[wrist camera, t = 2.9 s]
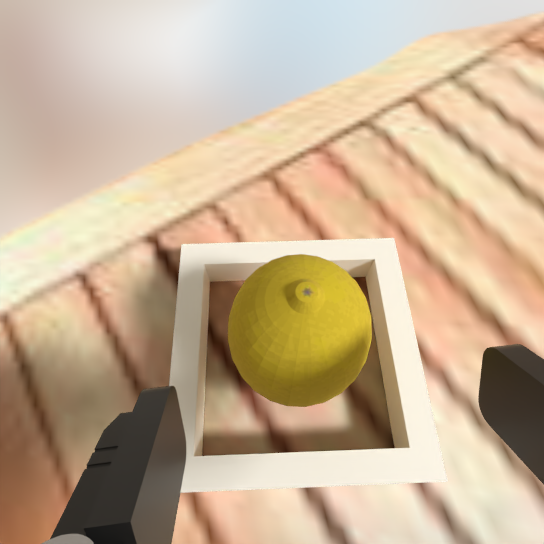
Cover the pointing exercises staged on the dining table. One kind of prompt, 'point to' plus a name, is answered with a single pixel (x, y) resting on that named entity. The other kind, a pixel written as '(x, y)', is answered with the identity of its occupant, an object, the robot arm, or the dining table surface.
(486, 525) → the dining table surface
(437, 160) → the dining table surface
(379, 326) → the holder frame
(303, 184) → the dining table surface
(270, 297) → the lemon
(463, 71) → the dining table surface
